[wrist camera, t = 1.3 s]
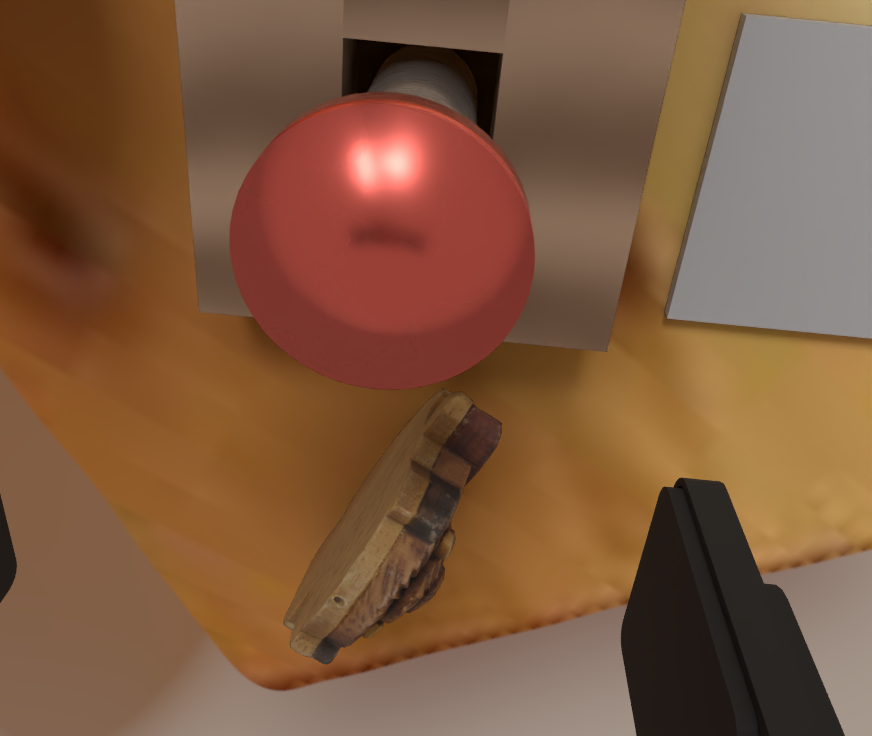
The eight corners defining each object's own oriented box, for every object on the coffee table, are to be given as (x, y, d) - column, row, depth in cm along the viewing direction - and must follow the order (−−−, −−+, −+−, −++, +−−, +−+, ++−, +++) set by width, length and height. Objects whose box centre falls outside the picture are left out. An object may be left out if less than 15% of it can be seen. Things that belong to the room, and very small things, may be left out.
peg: (337, -8, 29) (220, 89, 16) (526, 10, 29) (557, 122, 16) (334, 175, 33) (235, 375, 20) (502, 192, 33) (513, 402, 20)
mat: (741, 12, 29) (746, 15, 29) (1022, 40, 29) (1032, 43, 28) (664, 312, 35) (667, 318, 35) (895, 334, 35) (901, 341, 35)
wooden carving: (372, 586, 45) (346, 754, 37) (295, 557, 44) (249, 721, 36) (519, 360, 37) (529, 507, 29) (428, 318, 36) (411, 457, 28)
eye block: (201, -174, 27) (160, -180, 24) (684, -127, 27) (713, -126, 24) (226, 269, 35) (199, 311, 32) (595, 305, 35) (606, 351, 32)
